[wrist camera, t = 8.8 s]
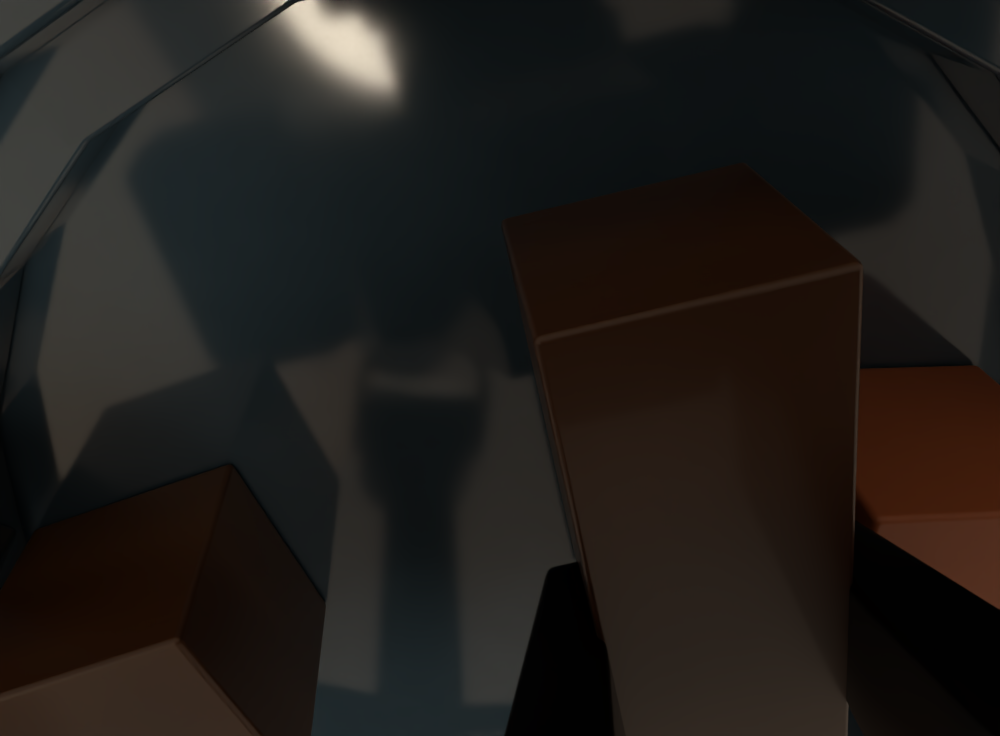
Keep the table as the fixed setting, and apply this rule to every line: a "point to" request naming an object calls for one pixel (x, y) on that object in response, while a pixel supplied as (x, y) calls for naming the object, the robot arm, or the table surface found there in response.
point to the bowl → (426, 266)
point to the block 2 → (933, 468)
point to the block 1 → (161, 621)
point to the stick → (703, 443)
